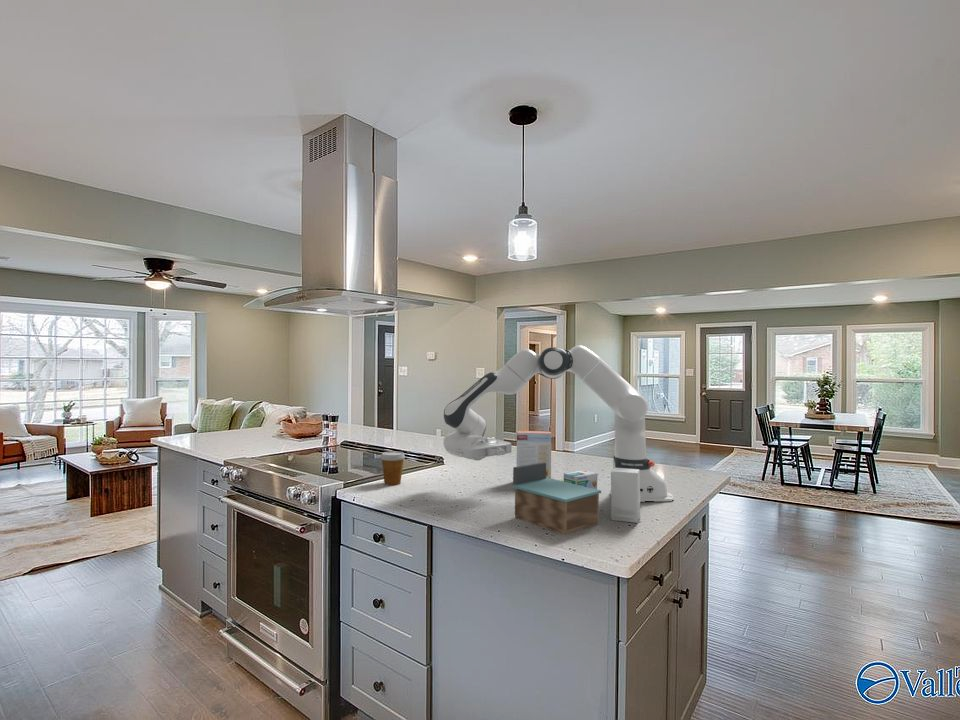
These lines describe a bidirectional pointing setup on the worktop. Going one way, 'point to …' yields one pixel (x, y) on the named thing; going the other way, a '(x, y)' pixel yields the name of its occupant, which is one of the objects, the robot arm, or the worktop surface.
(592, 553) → the worktop surface
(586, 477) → the light bulb box
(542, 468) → the lid
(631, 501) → the skincare box
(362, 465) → the worktop surface
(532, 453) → the cracker box
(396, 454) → the disposable coffee cup
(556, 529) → the crate
